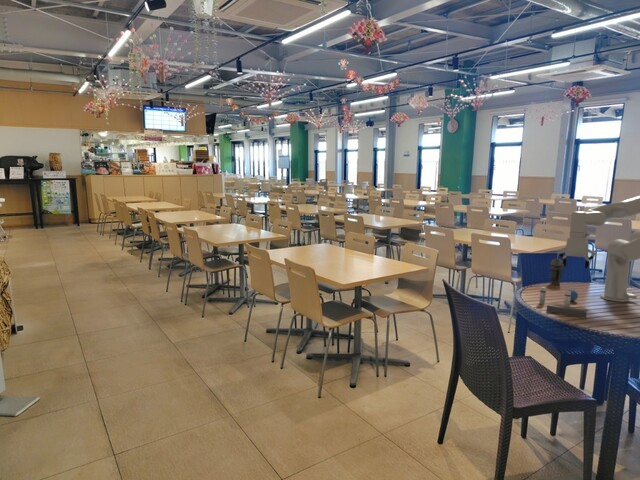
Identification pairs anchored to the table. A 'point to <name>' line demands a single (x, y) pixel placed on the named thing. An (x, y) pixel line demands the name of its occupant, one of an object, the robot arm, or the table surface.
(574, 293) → the ball
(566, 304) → the cream pin
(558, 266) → the beverage cup
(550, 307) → the back wall
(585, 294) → the table surface
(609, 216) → the robot arm
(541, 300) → the grey pin
